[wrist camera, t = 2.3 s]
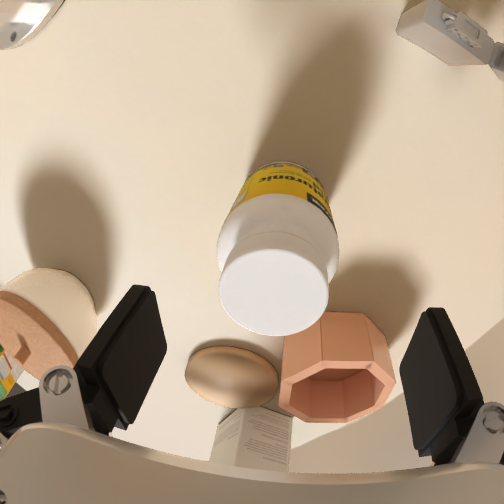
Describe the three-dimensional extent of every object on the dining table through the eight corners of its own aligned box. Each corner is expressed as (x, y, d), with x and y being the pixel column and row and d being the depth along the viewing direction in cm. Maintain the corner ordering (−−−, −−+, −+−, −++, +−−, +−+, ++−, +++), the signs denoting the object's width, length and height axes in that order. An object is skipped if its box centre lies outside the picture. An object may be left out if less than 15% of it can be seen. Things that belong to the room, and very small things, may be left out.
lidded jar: (19, 244, 24) (-42, 299, 16) (98, 252, 23) (31, 326, 15) (51, 325, 30) (10, 383, 22) (127, 344, 29) (88, 417, 21)
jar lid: (180, 340, 27) (177, 348, 26) (280, 350, 26) (280, 359, 25) (194, 395, 31) (191, 402, 31) (275, 404, 31) (274, 412, 30)
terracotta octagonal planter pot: (287, 309, 24) (283, 358, 19) (393, 313, 23) (407, 360, 18) (280, 376, 28) (276, 420, 24) (367, 379, 27) (373, 421, 23)
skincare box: (258, 439, 36) (242, 544, 22) (213, 423, 35) (187, 533, 21) (295, 416, 32) (285, 543, 18) (244, 397, 31) (218, 533, 17)
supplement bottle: (342, 186, 18) (380, 277, 10) (298, 252, 21) (297, 366, 13) (264, 143, 18) (236, 199, 9) (226, 215, 20) (179, 315, 12)
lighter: (394, 33, 13) (458, 5, 6) (402, 11, 12) (466, -24, 5) (484, 91, 13) (567, 109, 7) (491, 71, 13) (574, 80, 6)
